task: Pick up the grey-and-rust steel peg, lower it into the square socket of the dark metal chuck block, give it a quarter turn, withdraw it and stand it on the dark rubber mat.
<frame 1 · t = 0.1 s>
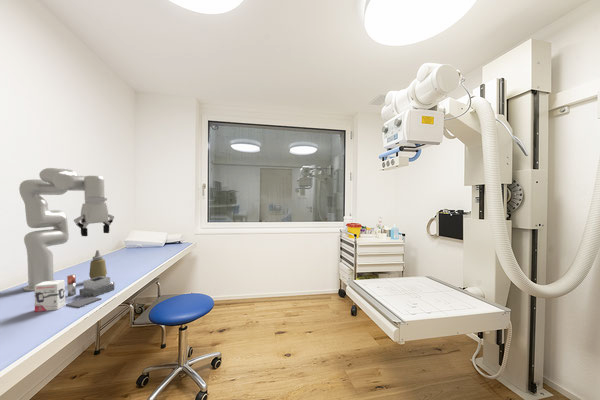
hand: (95, 234, 117), 31 cm above the table, fingers open, 9 cm apart
chuck: (97, 292, 122), on the table
ink box: (50, 308, 105), on the table
squeeze bottle: (98, 280, 140), on the table
mat: (84, 302, 111), on the table
peg: (71, 295, 119), on the table
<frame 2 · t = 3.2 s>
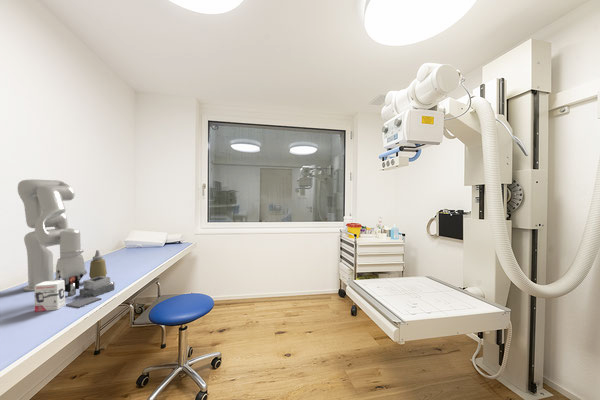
hand: (71, 289, 119), 3 cm above the table, fingers closed on peg, 3 cm apart
peg: (71, 295, 119), on the table, touching gripper
everything else where it was.
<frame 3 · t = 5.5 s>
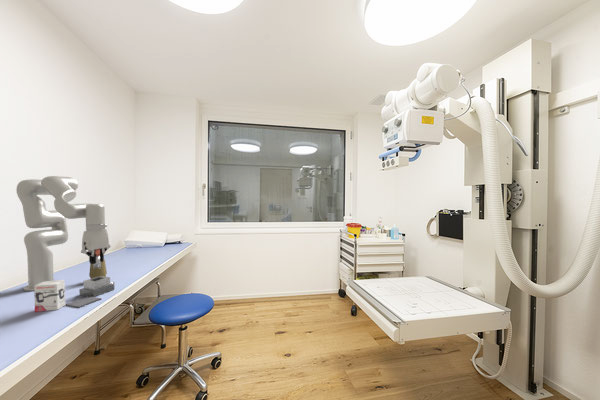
hand: (96, 262, 122), 16 cm above the table, fingers closed on peg, 3 cm apart
peg: (97, 267, 122), point 13 cm above the table, touching gripper
everything else where it was.
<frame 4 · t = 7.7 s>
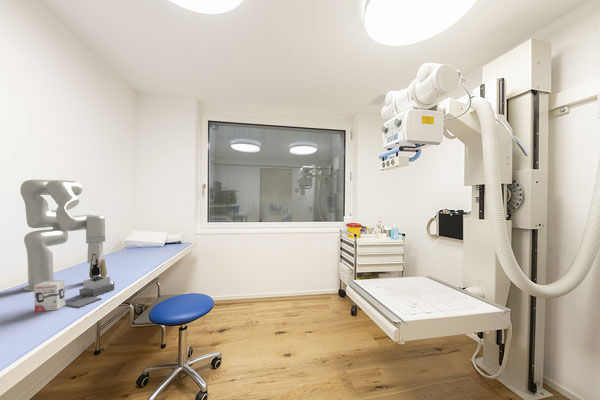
hand: (96, 274, 122), 10 cm above the table, fingers closed on peg, 3 cm apart
peg: (97, 279, 122), point 7 cm above the table, touching gripper
everything else where it was.
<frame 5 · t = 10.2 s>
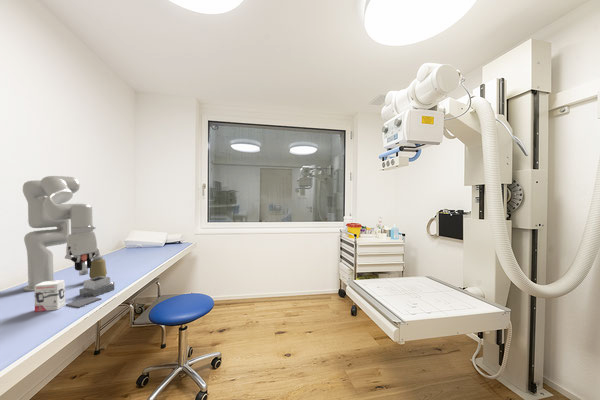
hand: (83, 268, 110), 16 cm above the table, fingers closed on peg, 3 cm apart
peg: (83, 274, 110), point 13 cm above the table, touching gripper
everything else where it was.
when the fingers open (4 cm above the table, at t = 12.4 s): peg stays where it is, resting on mat.
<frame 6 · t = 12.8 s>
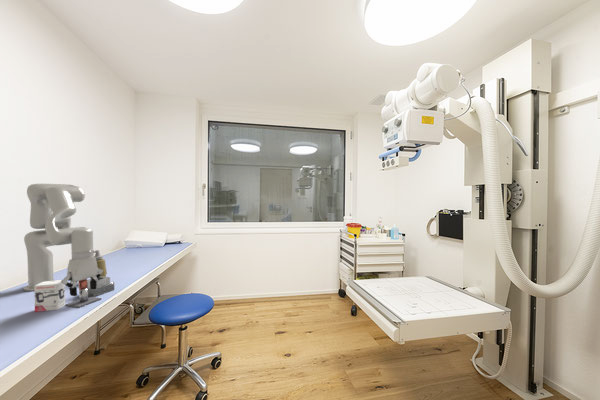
hand: (83, 291, 111), 5 cm above the table, fingers open, 7 cm apart
peg: (84, 301, 111), point 1 cm above the table, touching mat
everything else where it was.
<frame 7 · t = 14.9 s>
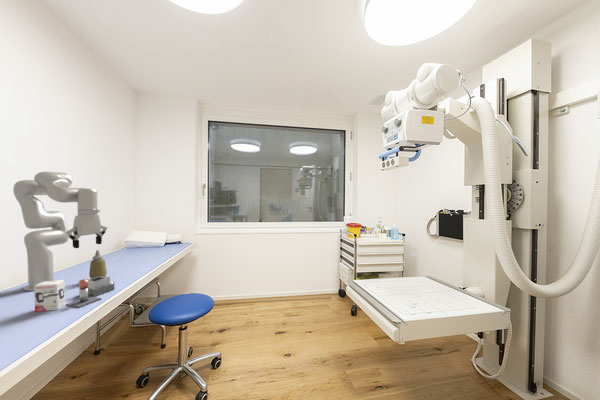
hand: (87, 245, 120), 25 cm above the table, fingers open, 9 cm apart
nothing on the table moved.
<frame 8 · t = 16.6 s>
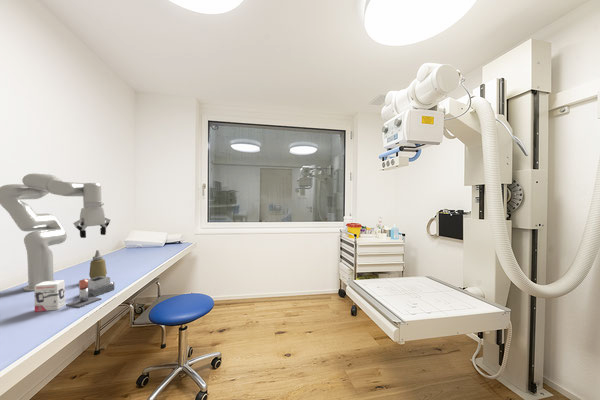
hand: (93, 236, 129), 28 cm above the table, fingers open, 9 cm apart
nothing on the table moved.
at the end: peg inside the target area on the mat (0.0 cm from its centre), point 0.6 cm above the mat's base; peg tilted 0°; the gripper is holding nothing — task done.
